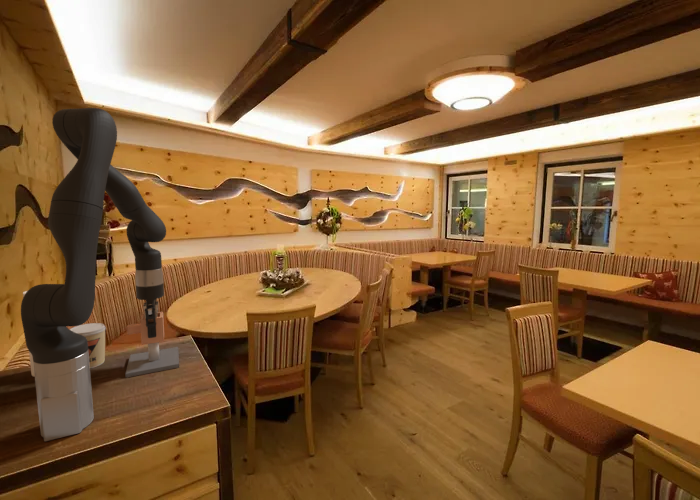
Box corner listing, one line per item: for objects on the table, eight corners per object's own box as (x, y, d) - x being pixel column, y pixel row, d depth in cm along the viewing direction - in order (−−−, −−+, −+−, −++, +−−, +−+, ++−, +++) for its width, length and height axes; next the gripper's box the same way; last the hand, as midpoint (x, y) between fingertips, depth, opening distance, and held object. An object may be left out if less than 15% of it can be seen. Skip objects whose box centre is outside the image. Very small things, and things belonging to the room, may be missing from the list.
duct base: (179, 367, 101) (178, 342, 100) (125, 377, 95) (123, 351, 94) (178, 350, 113) (177, 327, 112) (130, 358, 107) (129, 334, 106)
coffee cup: (64, 373, 96) (61, 335, 95) (77, 359, 105) (74, 324, 103) (102, 368, 100) (99, 331, 98) (111, 355, 108) (109, 321, 107)
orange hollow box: (163, 341, 102) (162, 317, 101) (127, 347, 97) (125, 321, 96) (164, 334, 107) (162, 311, 106) (129, 339, 103) (128, 315, 101)
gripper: (163, 286, 96) (165, 339, 98) (163, 277, 109) (166, 324, 111) (133, 289, 93) (136, 344, 95) (137, 279, 105) (140, 327, 107)
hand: (152, 333), depth 103 cm, fingers closed on orange hollow box, 6 cm apart
